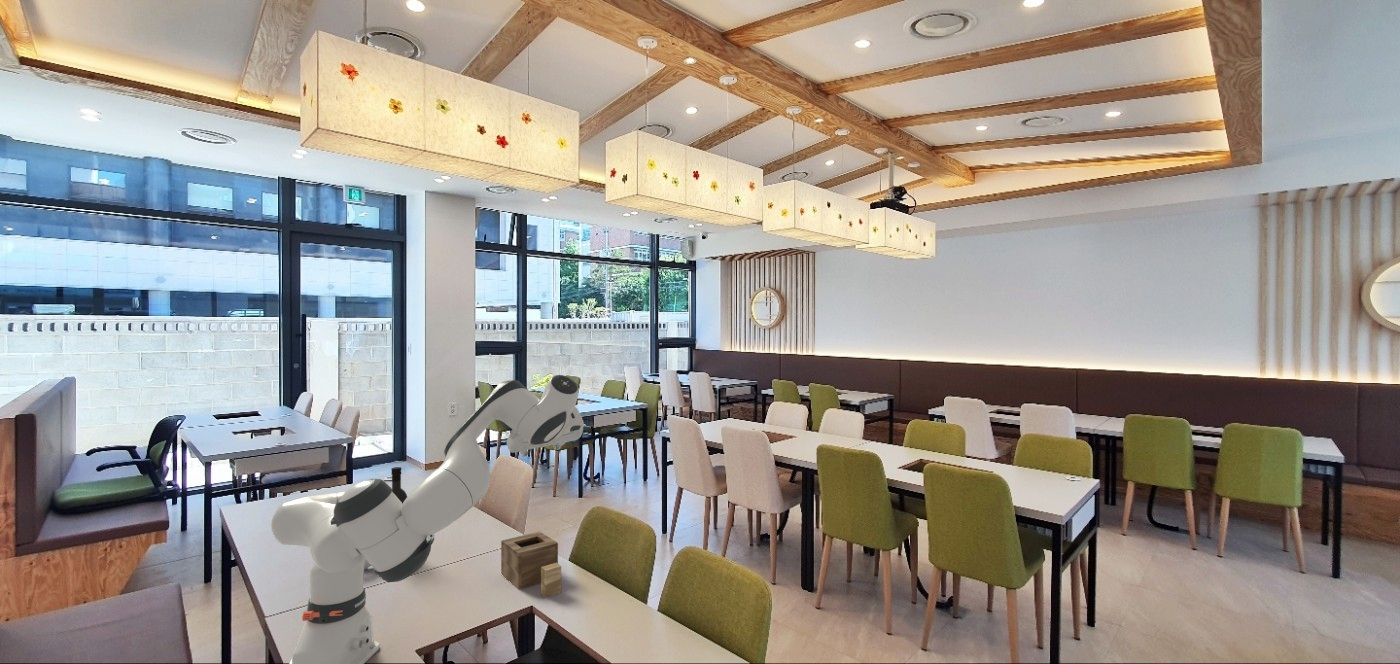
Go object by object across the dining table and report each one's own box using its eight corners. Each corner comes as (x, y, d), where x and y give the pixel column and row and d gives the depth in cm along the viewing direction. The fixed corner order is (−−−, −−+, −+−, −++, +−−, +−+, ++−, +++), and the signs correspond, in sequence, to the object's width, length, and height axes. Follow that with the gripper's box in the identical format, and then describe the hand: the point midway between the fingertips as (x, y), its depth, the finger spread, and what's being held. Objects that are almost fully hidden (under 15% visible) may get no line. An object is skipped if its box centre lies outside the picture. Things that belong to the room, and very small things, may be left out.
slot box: (557, 577, 189) (557, 542, 189) (518, 589, 181) (518, 553, 181) (539, 564, 199) (539, 531, 199) (501, 575, 191) (501, 540, 191)
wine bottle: (392, 559, 202) (392, 470, 202) (384, 555, 206) (383, 468, 205) (409, 554, 207) (408, 467, 206) (400, 550, 210) (400, 465, 210)
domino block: (561, 592, 179) (561, 565, 179) (545, 597, 176) (545, 570, 176) (556, 589, 181) (556, 562, 181) (541, 593, 178) (541, 567, 178)
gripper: (515, 438, 152) (506, 468, 160) (589, 424, 164) (577, 453, 172) (508, 418, 155) (499, 449, 164) (581, 406, 167) (569, 435, 176)
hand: (539, 451), depth 168 cm, fingers open, 8 cm apart
